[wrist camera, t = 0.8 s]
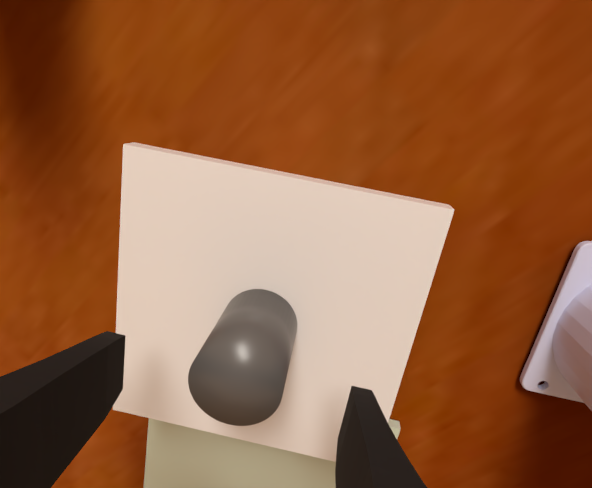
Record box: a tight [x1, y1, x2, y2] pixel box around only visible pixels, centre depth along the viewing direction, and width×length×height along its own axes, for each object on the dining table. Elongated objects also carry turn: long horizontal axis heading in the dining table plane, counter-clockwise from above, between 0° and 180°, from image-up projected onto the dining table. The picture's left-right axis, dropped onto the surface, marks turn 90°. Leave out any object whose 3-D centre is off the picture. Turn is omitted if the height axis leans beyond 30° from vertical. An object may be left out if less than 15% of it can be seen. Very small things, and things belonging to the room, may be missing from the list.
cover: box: [113, 142, 454, 462], centre depth 15 cm, size 12×12×5 cm
